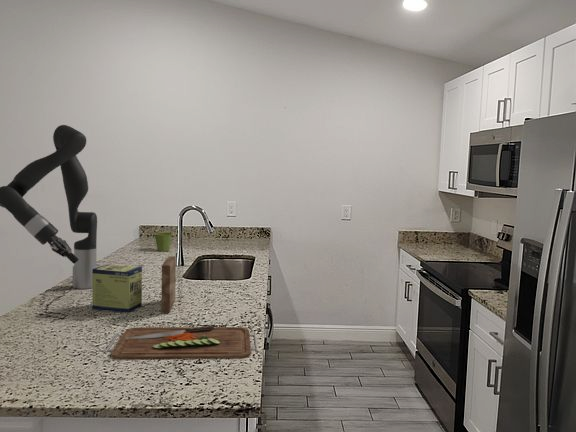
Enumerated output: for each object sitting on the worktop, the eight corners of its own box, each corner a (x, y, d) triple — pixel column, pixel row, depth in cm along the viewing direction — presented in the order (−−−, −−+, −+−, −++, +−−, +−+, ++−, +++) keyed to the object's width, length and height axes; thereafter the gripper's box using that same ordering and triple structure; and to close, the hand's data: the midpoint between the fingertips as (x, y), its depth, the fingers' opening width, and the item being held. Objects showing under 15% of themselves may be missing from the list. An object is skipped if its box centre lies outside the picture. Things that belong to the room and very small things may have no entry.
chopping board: (99, 360, 146) (99, 350, 146) (120, 331, 173) (120, 322, 172) (259, 359, 151) (259, 349, 150) (255, 330, 177) (255, 322, 177)
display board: (161, 313, 193) (161, 265, 191) (167, 299, 213) (168, 256, 211) (169, 313, 193) (170, 265, 192) (175, 299, 213) (175, 256, 211)
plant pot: (152, 249, 335) (152, 232, 334) (170, 249, 340) (170, 232, 339) (155, 252, 325) (155, 235, 324) (174, 252, 330) (174, 234, 329)
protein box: (129, 312, 192) (129, 271, 191) (91, 309, 195) (91, 268, 194) (142, 305, 203) (143, 266, 201) (106, 302, 206) (106, 263, 204)
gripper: (44, 223, 185) (80, 257, 189) (53, 220, 198) (87, 251, 202) (28, 238, 185) (65, 272, 188) (38, 233, 198) (72, 265, 201)
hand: (76, 261), depth 195 cm, fingers closed
